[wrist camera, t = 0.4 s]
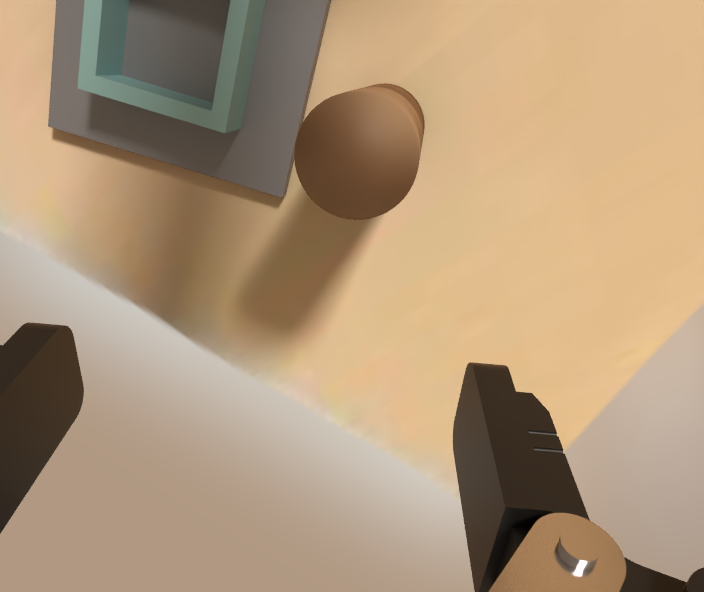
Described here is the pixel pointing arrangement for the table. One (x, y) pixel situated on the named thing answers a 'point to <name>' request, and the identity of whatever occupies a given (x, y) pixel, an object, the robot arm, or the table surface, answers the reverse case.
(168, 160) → the socket stand
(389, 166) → the walnut peg
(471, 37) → the table surface
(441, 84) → the table surface
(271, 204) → the table surface
